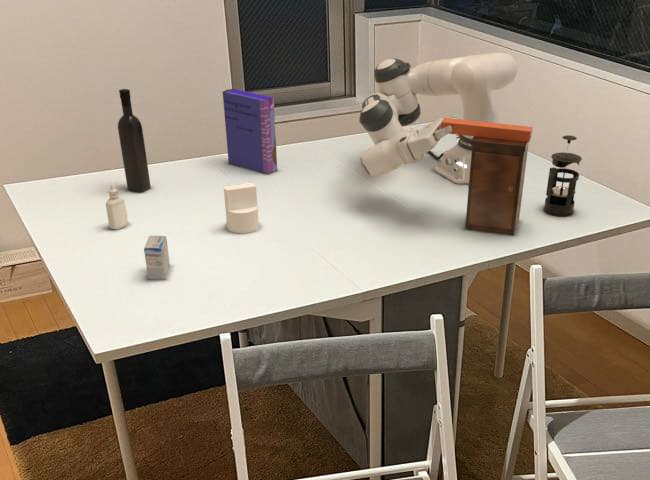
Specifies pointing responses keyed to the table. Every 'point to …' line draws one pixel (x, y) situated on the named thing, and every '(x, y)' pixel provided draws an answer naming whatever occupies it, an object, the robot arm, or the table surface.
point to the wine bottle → (132, 147)
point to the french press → (559, 196)
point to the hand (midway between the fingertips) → (453, 124)
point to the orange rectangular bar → (488, 129)
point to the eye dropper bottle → (116, 210)
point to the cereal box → (250, 130)
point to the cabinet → (495, 185)
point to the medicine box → (157, 257)
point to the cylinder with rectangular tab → (241, 208)
